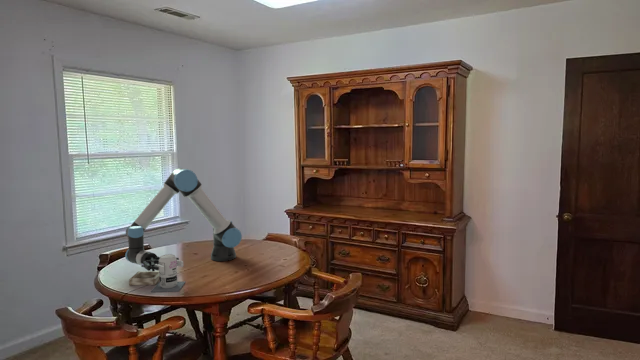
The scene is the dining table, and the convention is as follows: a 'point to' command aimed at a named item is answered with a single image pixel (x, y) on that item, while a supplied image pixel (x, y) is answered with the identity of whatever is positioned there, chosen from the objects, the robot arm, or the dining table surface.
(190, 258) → the dining table surface
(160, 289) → the slate mat
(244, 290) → the dining table surface
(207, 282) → the dining table surface
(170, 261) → the supplement can
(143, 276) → the holder collar
